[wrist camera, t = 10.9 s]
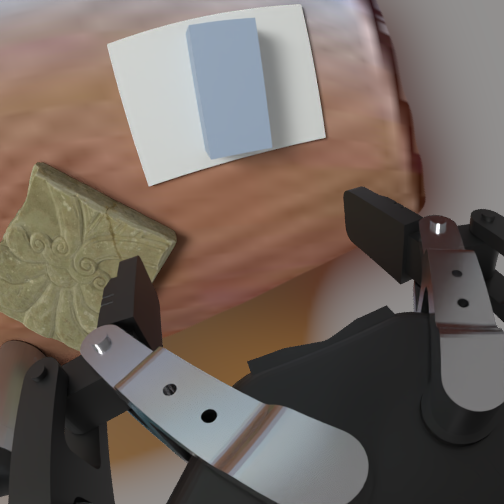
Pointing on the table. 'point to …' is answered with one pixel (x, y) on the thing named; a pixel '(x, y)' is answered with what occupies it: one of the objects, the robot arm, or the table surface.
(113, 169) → the table surface
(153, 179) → the mat
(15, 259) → the decorative tile
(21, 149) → the table surface
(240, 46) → the block
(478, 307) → the robot arm
